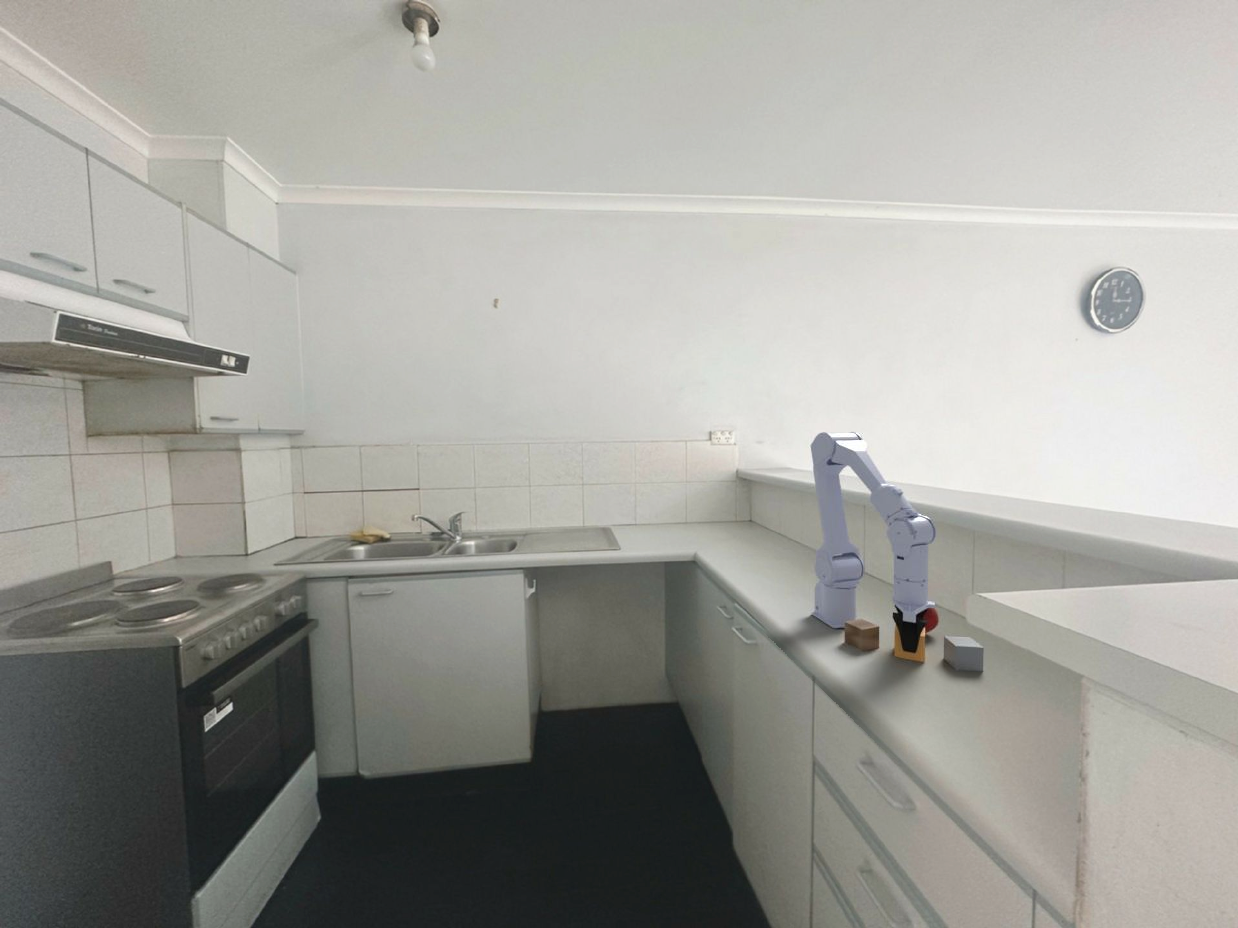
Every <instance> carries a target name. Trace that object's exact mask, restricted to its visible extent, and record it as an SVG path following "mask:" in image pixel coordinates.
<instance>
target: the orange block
mask: <svg viewBox="0 0 1238 928" xmlns="http://www.w3.org/2000/svg"><path fill="white" fill-rule="evenodd" d="M893 655H894V657H895V658H902V659H907V660H912V661H915V662H921V663H926V633H925V627H924V629H923V630H922V632H921V635H920V639H919V643H918V648H917V651H916V653H911V652H906V651H903V648H902V644H901V639H900V634H899V630H898V628H897V625H896V624H895V626H894V653H893Z"/></svg>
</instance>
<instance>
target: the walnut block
mask: <svg viewBox="0 0 1238 928" xmlns="http://www.w3.org/2000/svg"><path fill="white" fill-rule="evenodd" d="M844 643H845V644H847V645H848V646H851V647H853V648H854V649H857V650H859V651H861V652H865V651H870V650H875V649H879V648H880V626H879V625H877V624H874V623H872V622H870V621H867V620H865V619H863V618H859V619H858V618H857V620H851V621H846V622H845V628H844Z"/></svg>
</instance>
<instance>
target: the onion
mask: <svg viewBox="0 0 1238 928" xmlns="http://www.w3.org/2000/svg"><path fill="white" fill-rule="evenodd" d="M923 619H927V624H926V626H925V634H927V633H930V632H932V631H933V630H935V629H936V628H937V626H939V625H938V624H939V620H940V619H939V614H938V612H937V610H936V608H927V612H926V613H925V615H924V617H923Z"/></svg>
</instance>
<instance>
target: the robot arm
mask: <svg viewBox="0 0 1238 928" xmlns="http://www.w3.org/2000/svg"><path fill="white" fill-rule="evenodd" d="M867 450H868V444H867V442H866V441H864V439H863V437H862V435H860V434H859V433H858V432H856V431H851V432H824V431H823V432H820V433H818V434H817V435H816V436H815V437H814V438H813V440H812V442H811V443H810V452H811V453H810V454H811V457H812V464H813V465H812V466H813V467H812V469H813V470H812V471H813V478H814V484H815V492H816V500H817V505H818V511H819V512H818V513H819V519H820V525H821V526H820V527H821V532H822V538H823V543H822V544H821V545H820V546H819V547H818V548H817V550H815V552H814V555H815V563H814V573H815V576H816V577H817V579H818V581H817V583H815V586H814V611H811V613H810V614H811V615H812V616H814V617H815V618H817V619H819V620H820V621H822V622H823V623H825V624H826V625H828V626H829V627H831V628H832V629H845V622H846V621H851V620H857V619H858V618H857V610H858V608H857V607H858V605H857V602H858V601H857V598H858V596H857V595H858V593H857V591H858V585H859V584H860V580H862V579H863V577H865V574H866V567H865V562H864V561H863V559H862V557H861V554H860V549H859V548H858V547H857V545H855V544H854V543H852V542H851V541H850V538H849V531H848V524H847V520H846V519H847V518H846V513H845V512H846V511H845V505H844V500H843V493H842V486H841V482H840V481H841V479H840V474H841V472H842V471H844V469H845V468H846V467H849V468H851V470H852V471H853V472H854V474H856V477H858V478H859V479H860V481H862V483H863V484H864V486H866V488H867V490H869V491H870V493H871V494H870V497H869V501H870V503H871V504H872V506H873V507H874V508H875V510H876V511H877V512H878V514H879V516H880V517H881V519H882V520H883V521H884V523H885V524H886V526H887V527H888V529H886V536H887V537H886V538H888V541H889V542H890V544H891V552H892V554H893V596H892V598H891V599H892V603H893V604H894V608H895V609H896V612H892V619H893V622H894V623H895V626H896V625H897V628H898V630H899V634H900V639H901V644H902V648H903V651H906V652H911V653H916V651H917V648H918V643H919V639H920V635H921V632H922V630H923V629H924V627H925V626H926V624H927V619H923V617H924V615H925V613H926V612H927V608H935V607H936V603H935V601H931V600H928V597H929V592H928V591H929V589H928V588H929V545H930V544H932V543H933V542H934V540H935V539H936V535H937V531H936V530H937V529H936V526H935V524H934V522H933V521H932V519H931V518H929V517H928V516H926V515H922V514H920V513H919V511H917V510H916V509H915V508H914V507H913V506H912V505H911V503H910V502H909V501H908V499H907V498H906V497H905V495H904V491H903V490H902V489H901V488H899V487H897V486H896V485H893V484H892V485H891V484H888V483H887V481H886V480H885V478H884V477H883V475H882V474H881V472H880V470H879V469H878V467H877V466H876V464H875V462H874V461H873V459H872V457H871V456H870V454H869V453H868V451H867ZM935 609H936V608H935Z"/></svg>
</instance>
